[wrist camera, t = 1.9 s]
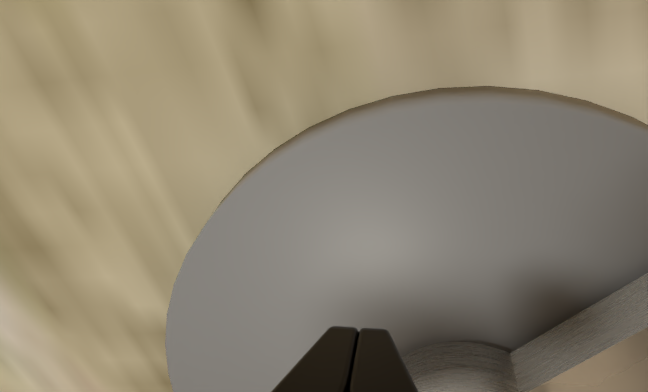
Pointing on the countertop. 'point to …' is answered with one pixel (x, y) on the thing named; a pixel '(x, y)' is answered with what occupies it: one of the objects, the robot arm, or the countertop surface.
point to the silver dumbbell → (551, 354)
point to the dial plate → (414, 232)
